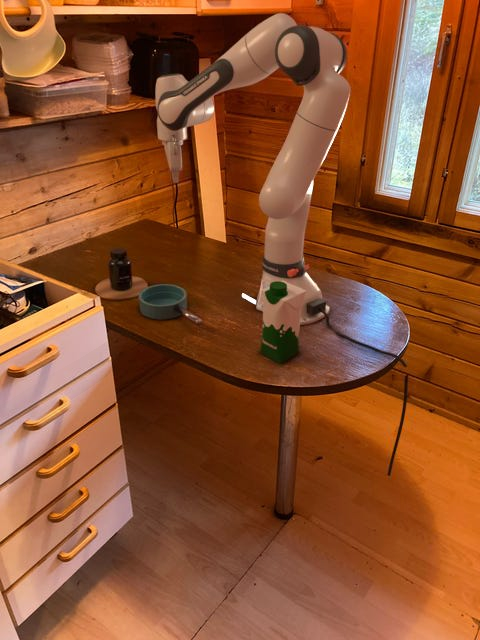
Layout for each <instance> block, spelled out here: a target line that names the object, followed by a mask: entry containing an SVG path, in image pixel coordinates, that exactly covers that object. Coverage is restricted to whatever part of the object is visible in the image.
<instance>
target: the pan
mask: <svg viewBox="0 0 480 640" xmlns="http://www.w3.org/2000/svg"><path fill="white" fill-rule="evenodd" d="M177 304H178V305H180V306H181V307H183V308H184V309H186V310H188V294H187V291H186V289H184V288H183V287H181V286H179V285H176V284H169V283H160V284H154V285H150V286H148V287H147V288H145V289H143V290H142V291H141V292H140V293H139V296H138V306H139V311H140V313H141V315H143V316H144V317H146V318H148V319H153V320H157V321H158V320H160V321H162V320H163V321H164V320H170V319H175V318H178V317H180V316H181V315H180V314H179V313H177V312H176V311H174V306H175V305H177Z"/></svg>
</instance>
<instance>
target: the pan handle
mask: <svg viewBox="0 0 480 640" xmlns="http://www.w3.org/2000/svg"><path fill="white" fill-rule="evenodd" d="M174 311H176V312H177V313H179V314H180V316H182V317H183V318H185V319H186V320H188V321H189V322H190V323H192V324H194V325H195V326H196V327H199V326H201V325H202V324H203V320H202V319H201V318H200V317H198V316H196V314H193V313H192V312H191V311H189V310H188V309H184V308H183V307H181V306H180V305H178V304H177V305H175V306H174Z"/></svg>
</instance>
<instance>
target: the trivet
mask: <svg viewBox="0 0 480 640" xmlns="http://www.w3.org/2000/svg"><path fill="white" fill-rule="evenodd" d="M132 282H133V285H132V287H131V288H130V289H128V290H125V291H116V290H113V289H112V288H111V286H110V278H109V277H107V278H105V279H103V280H101V281H100V282H98V283H97V284H96V286H95V288H94V291H95V294H96V295H97V296H98V295H99V296H98V297H99V298H101V299H104V300H109V301H125V300H131V299H135V298H139V293H140V292H141V291H142V290H143V289H145V288H147V287H149V286H148V282H147V281H146V279H144V278H142V277H139V276H135V275H132Z"/></svg>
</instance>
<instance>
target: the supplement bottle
mask: <svg viewBox="0 0 480 640" xmlns="http://www.w3.org/2000/svg"><path fill="white" fill-rule="evenodd" d="M109 253H110V255H109V256H110V258H109V259H108V261H107V267H108V278H110V286H111V288H112V289H113V290H116V291H125V290H128V289H130V288H131V287H132V285H133V282H132V276H133V271H132V260H131V259H130V258H129V257H128V253H127V249H126V248H123V247H116V248H112V249H110V250H109Z"/></svg>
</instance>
